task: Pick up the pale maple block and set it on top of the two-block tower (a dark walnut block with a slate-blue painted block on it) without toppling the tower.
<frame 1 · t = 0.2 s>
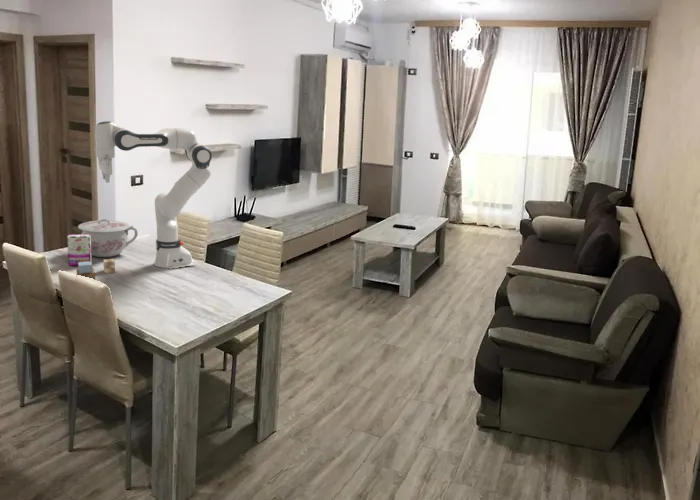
hand: (106, 180, 313), 47 cm above the table, fingers open, 8 cm apart
walnut block: (85, 278, 308), on the table, touching slate block
candy bar box: (80, 265, 327), on the table
maple block: (109, 271, 320), on the table
chamber pot: (105, 254, 348), on the table
slate block: (85, 271, 307), point 4 cm above the table, touching walnut block
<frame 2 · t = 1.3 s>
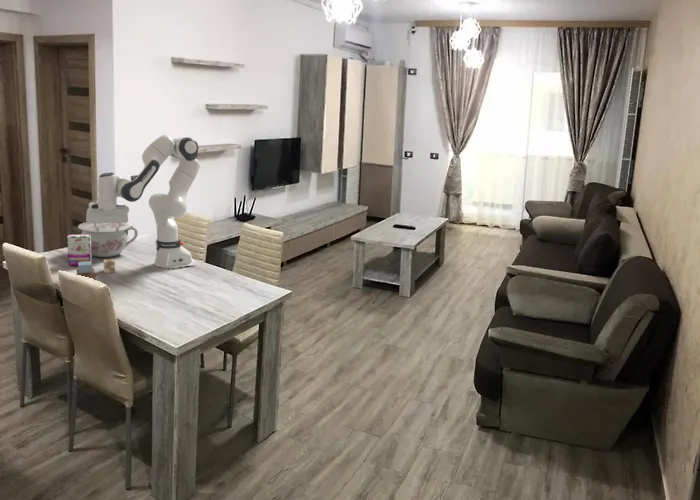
hand: (107, 230, 315), 22 cm above the table, fingers open, 8 cm apart
walnut block: (86, 278, 308), on the table
slate block: (85, 270, 307), point 4 cm above the table
everything else where it was.
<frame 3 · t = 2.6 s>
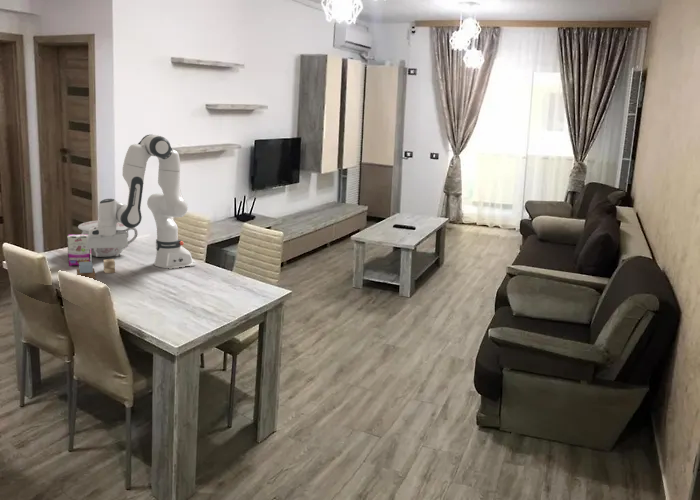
hand: (107, 256, 317), 8 cm above the table, fingers open, 8 cm apart
walnut block: (86, 278, 308), on the table, touching slate block
slate block: (86, 271, 307), point 4 cm above the table, touching walnut block
everything else where it was.
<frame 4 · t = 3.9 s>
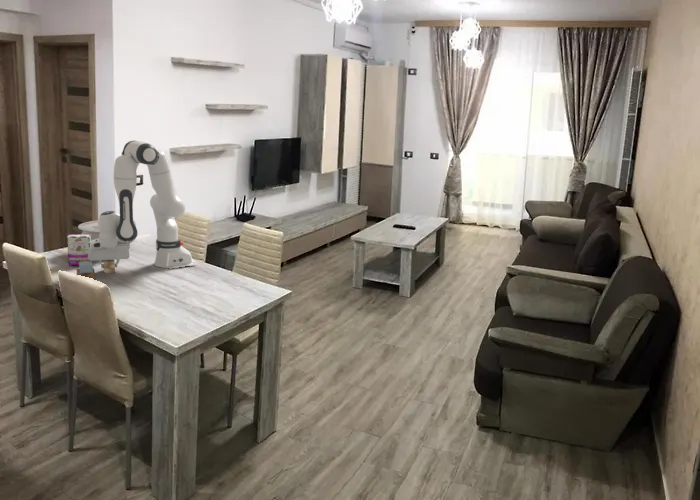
hand: (109, 267, 320), 2 cm above the table, fingers closed on maple block, 5 cm apart
maple block: (109, 271, 320), on the table, touching gripper
everything else where it was.
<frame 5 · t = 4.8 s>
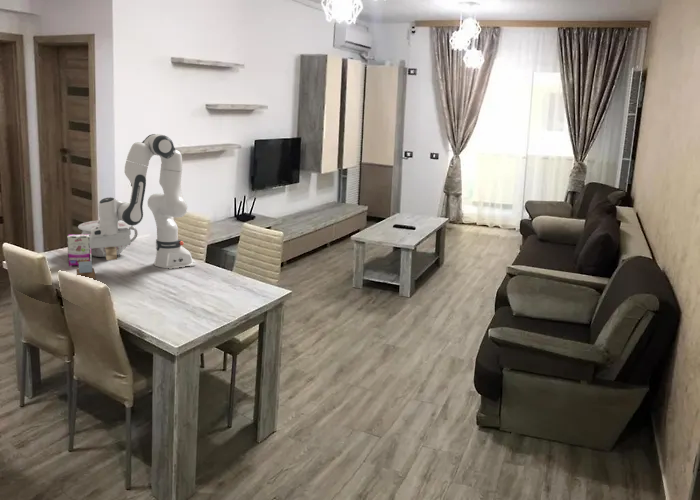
hand: (111, 254, 318), 9 cm above the table, fingers closed on maple block, 5 cm apart
maple block: (111, 258, 319), point 7 cm above the table, touching gripper
everything else where it was.
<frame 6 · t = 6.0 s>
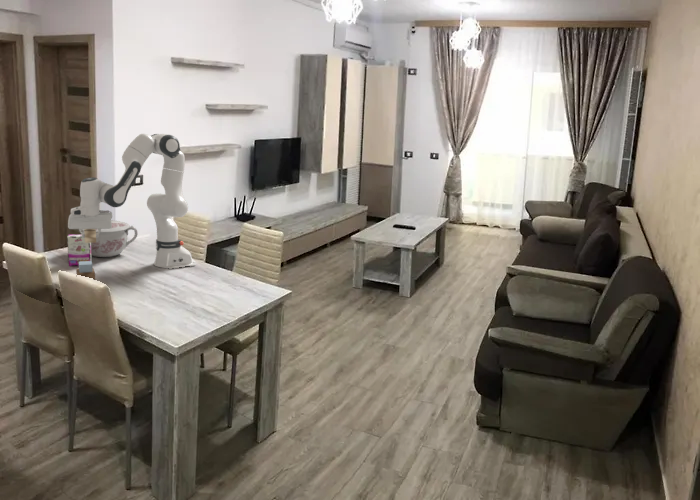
hand: (90, 237, 306), 20 cm above the table, fingers closed on maple block, 5 cm apart
maple block: (90, 241, 306), point 18 cm above the table, touching gripper
everything else where it was.
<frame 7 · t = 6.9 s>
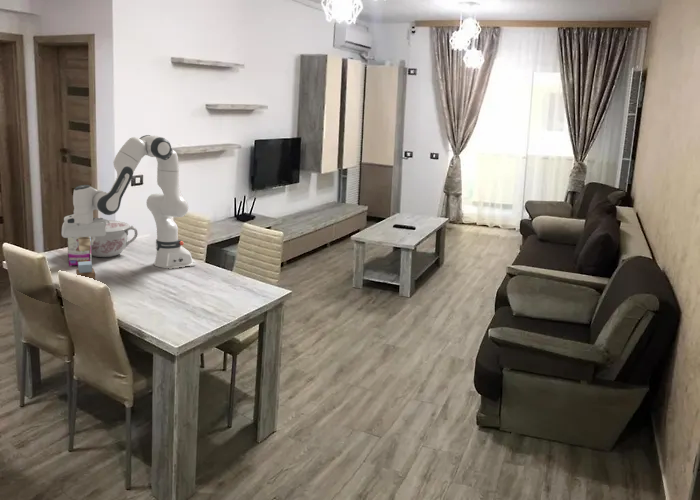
hand: (84, 245, 303), 17 cm above the table, fingers closed on maple block, 5 cm apart
maple block: (84, 249, 304), point 15 cm above the table, touching gripper
everything else where it was.
when the fingers open (11 cm above the table, at t = 8.6 s): maple block drops 2 cm, resting on slate block.
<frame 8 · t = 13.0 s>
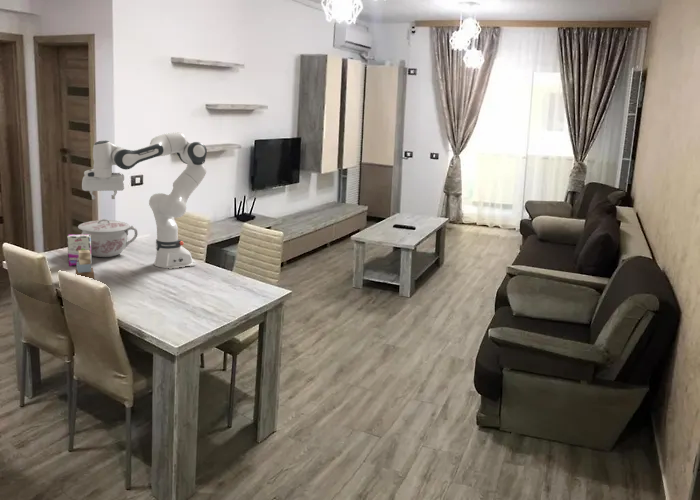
hand: (103, 199, 317), 37 cm above the table, fingers open, 8 cm apart
maple block: (84, 262, 306), point 8 cm above the table, touching slate block
slate block: (84, 270, 307), point 4 cm above the table, touching maple block, walnut block
everything else where it was.
at the end: maple block inside the target area on the walnut block (0.2 cm from its centre), point 8.0 cm above the walnut block's base; maple block tilted 0°; slate block 0.2 cm off-centre on the walnut block, point 4.0 cm above the walnut block's base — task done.
